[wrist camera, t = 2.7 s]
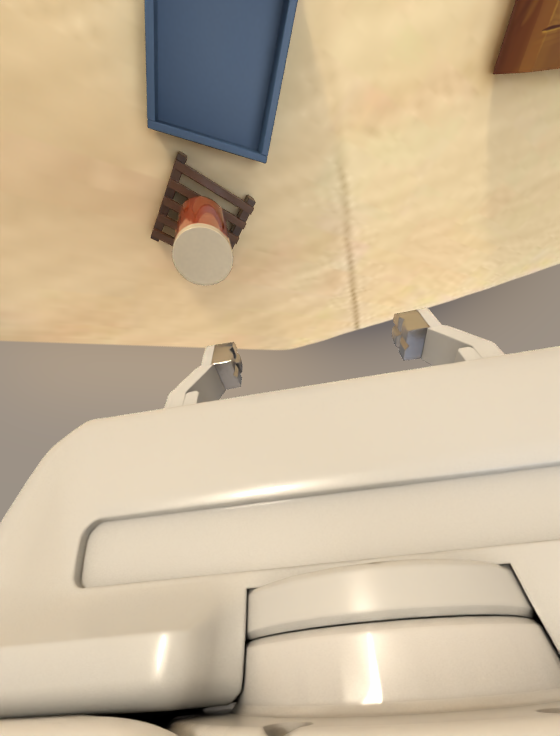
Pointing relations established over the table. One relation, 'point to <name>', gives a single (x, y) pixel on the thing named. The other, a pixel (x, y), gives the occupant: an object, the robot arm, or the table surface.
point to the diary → (531, 38)
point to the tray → (217, 70)
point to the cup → (202, 242)
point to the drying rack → (174, 186)
